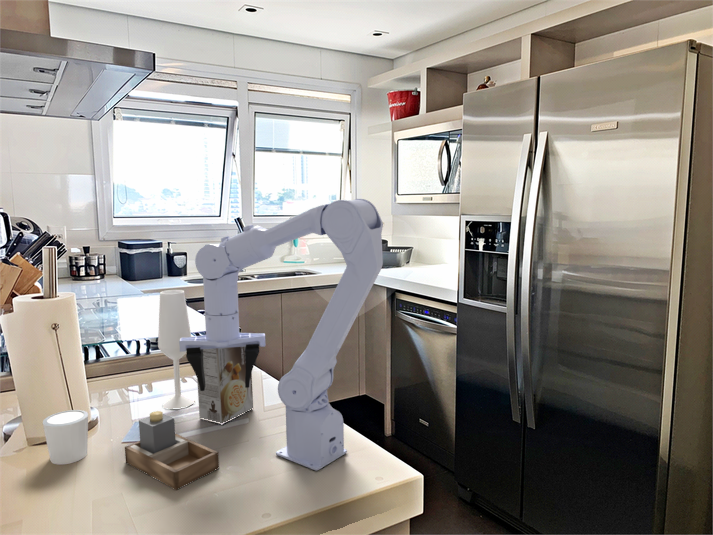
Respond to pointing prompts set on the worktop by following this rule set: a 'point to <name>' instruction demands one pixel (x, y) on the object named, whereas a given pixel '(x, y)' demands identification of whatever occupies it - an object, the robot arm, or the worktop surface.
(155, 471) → the walnut box
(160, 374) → the worktop surface
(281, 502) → the worktop surface
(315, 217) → the robot arm
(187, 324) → the champagne flute
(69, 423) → the white cup
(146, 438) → the plug
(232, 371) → the coffee box
